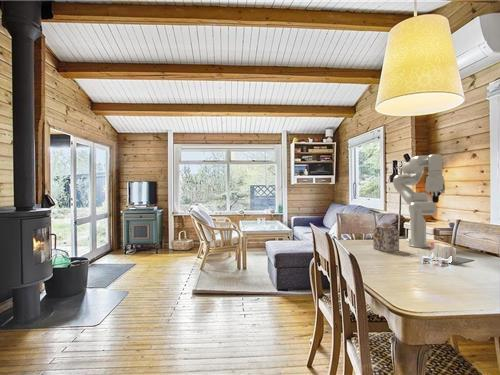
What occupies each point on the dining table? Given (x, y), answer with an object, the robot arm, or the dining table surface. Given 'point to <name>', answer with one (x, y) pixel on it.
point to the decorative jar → (386, 238)
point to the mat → (460, 260)
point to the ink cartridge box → (443, 251)
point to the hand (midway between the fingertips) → (435, 202)
